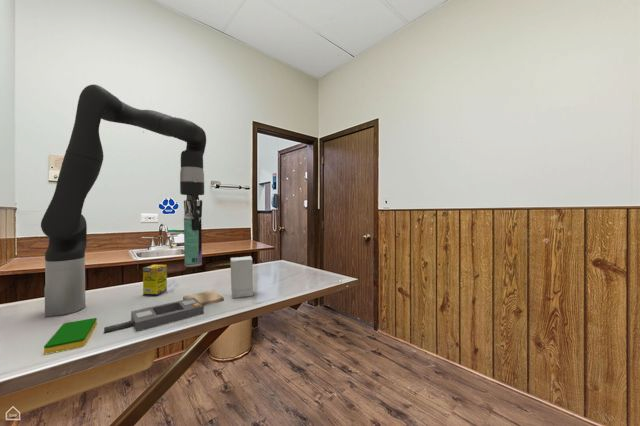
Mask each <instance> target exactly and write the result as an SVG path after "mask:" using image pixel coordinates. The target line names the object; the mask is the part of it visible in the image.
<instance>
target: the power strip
mask: <svg viewBox="0 0 640 426" xmlns="http://www.w3.org/2000/svg"><path fill="white" fill-rule="evenodd" d="M204 306H205V305H202V304H201V303H200V302H198V301H197V300H196V299H195V298H190V299H185V300H183V299H182V300H178V301H173V302H168V303H163V304H159V305H158V304H157V305H154V306H150V307H145V308H141V309H140V308H139V309H137V310H131V312H130V316H131V317H130V318H131V319H130V320H129V321H126V322H121V323H117V324H113V325H108V326H105V327H103V333H108V332H112V331H117V330H120V329H124V328H129V327H132V326H133V328H134V330H135V332H139V331H143V329H144V330H148V329H150V328H155V327H158V326H162V325H165V324H169V322H170V323H173V321H174V322H178V321H181V320H184V319H185V320H186V319H189V318H192V316H193V317H196V316H200V315H203V313H204V310H205V309H204ZM188 317H189V318H188ZM177 320H178V321H177ZM147 328H148V329H147Z"/></svg>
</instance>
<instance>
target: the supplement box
mask: <svg viewBox="0 0 640 426" xmlns="http://www.w3.org/2000/svg"><path fill="white" fill-rule="evenodd" d="M167 272H168V266H167V264H151V265H148V266H146V267H143V268H142V296H145V297H146V296H147V297H148V296H149V297H158V296H159V295H162V294H163V293H165V292H167V290H168V289H167V288H168V287H167V285H168V280H167V277H168V274H167Z"/></svg>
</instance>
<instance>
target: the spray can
mask: <svg viewBox="0 0 640 426" xmlns="http://www.w3.org/2000/svg"><path fill="white" fill-rule="evenodd" d="M196 214H197V213H196ZM183 216H184V217H183V239H184V240H183V241H184V242H183V244H184V247H183V249H184V250H183V251H184V254H183V255H184V258H183V259H184V267H187V268H191V267H192V268H193V267H200V266H202V265H203V248H202V247H203V242H202V241H203V240H202V235H203V234H202V232H203V231H202V228H203V227H202V225H203V224H202V217H201V218H200V219H199V230H196V231H193V230H192V220H193V219H192V218H191V214H190V213H189V212H188V213H187V214H186V215H183Z"/></svg>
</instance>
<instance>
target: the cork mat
mask: <svg viewBox="0 0 640 426" xmlns="http://www.w3.org/2000/svg"><path fill="white" fill-rule="evenodd" d="M190 298H195V299H196V300H197V301H198V302H200V303H201V304H202V305H203V306H206V305H211V304H215V303H219V302H223V301H224V300H225V298H224V297H223V295H221V294H219V293H218V292H216V291H215V290H213V289H211V290H207V291H203V292H198V293H194V294H189V295H185V296H183V297H182V300H185V299H190Z"/></svg>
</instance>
